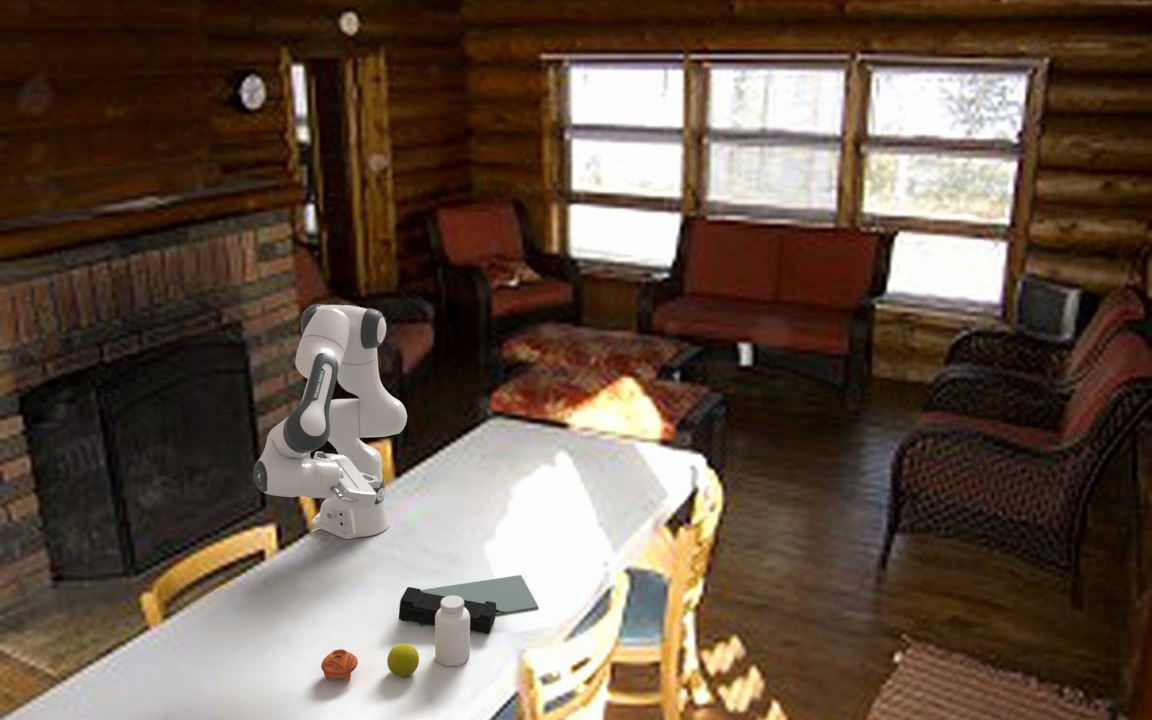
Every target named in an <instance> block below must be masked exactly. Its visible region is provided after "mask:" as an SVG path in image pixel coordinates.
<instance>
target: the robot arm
mask: <svg viewBox="0 0 1152 720" xmlns="http://www.w3.org/2000/svg"><path fill="white" fill-rule="evenodd" d="M300 332H301V335H302V336H301V338H300V340H299V341H300V342H299V344H298V347H297V349H296V350H297V351H296V356H295V363H294V365H295V368H296V369H297V371H298V372H299V374H300V375H301V376H302V377H304V378H305V379H307V382H306V385H305V388H304V392H303V396H302V400H301V402H300V403H299V406H298V407H297V408H295V409H294V410H293V411H292V412H291V413H290V414H289V415H288V416H286V418H284V419H283V420H282V421H280V422H279V423H278V424H276V425H275V426H274V427H273V428H272V429H271V430H270V431H269V432H268V433H267V437H266V441H265V447H264V450H263V451H262V454H261V455H260V457H259V459H258V460H257V461H256V462H255V464H254V467H253V480H254V483H255V486H256V487H257V489H258V490H259V491H260V492H262V493H264V494H266V495H270V496H276V497H287V498H288V497H289V498H296V497H300V496H301V497H306V498H309V499H310V498H311V499H325V500H323V502H322V503H321V505H320V510H319V512H318V513H317V514H315V516H314V517H313V518H312V521H311V526H313V527H315V528H317V529H320V530H322V531H325V532H327V533H329V534H332V535H335V536H337V537H340V538H342V539H344V540H351V539H355V538H361V537H363V538H364V537H371V536H375V535H378V534H381V533H383V532H385V531H386V530H387V529H389V527H390V525H391V522H390V519H389V516H388V513H387V509H386V505H385V503H386V502H385V479H384V477H383V457H382V455H381V453H380V452H379V451H378V450H377V449H376V448H375V447H374V446H371V445H369V444H366V443H365V442H363V441H362V440H361V438H382V437H384V438H385V437H389V436H393V435H398V434H400V433H401V432H402V431H403V430H404V428H405V426H406V425H407V420H408V419H407V418H408V414H407V410H406V408H405V406H404V405H405V404H403V403H402V401H400V400H399V399H397V398H396V397H394V396H393V395H391V394H390V393H389V392H388V390H386V388H385V387H384V385H383V383H382V381H381V378H380V371H379V362H378V347H379V346H380V345H382V343H383V342H384V340H385V336H386V334H387V322H386V317H385V316H384V315H383V313H382V312H381V311H379V310H378V309H374V308H371V307H369V308H365V307H360V306H355V305H347V304H344V305H342V304H323V303H315V304H310V305H309V306H308V307H307V308H305V309H304V311H303V312H302V314H301V318H300ZM336 383H338V384H339V385H340V387H341V388H342V389H344V390H345V391H346V392H348V393H351V394H353V395H355V396H356V397H357V398H337V399H336V398H335V399H332V398H333V394H334V391H335V386H336ZM327 441H328V442H329V443H330V444H331V445H332V447H333V448H335V449H336V452H337V454H336V453H324V451H316V450H318V449H320V448H322V447H323V446H325V445H326V443H327ZM314 451H315V453H314V455H313V458H311V457H312V456H311V453H312V452H314Z"/></svg>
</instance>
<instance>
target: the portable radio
mask: <svg viewBox="0 0 1152 720" xmlns="http://www.w3.org/2000/svg"><path fill="white" fill-rule="evenodd" d="M421 590H422V589H420V588H418V587H417V588H416V587H411V586H407V588H406V589H405V590H404V592H403V595H402V596H401V598H400V599H399V600H400V602H399V607H398V620H399V621H400V622H406V623H407V622H408V623H415V624H418V623H422V624H428V625H434V626H435V615H436V613H437V611H438V610H439V609H440V608H441V600H442V599H443V598H444V597H445V596H440V595H435V594H429V593H424V592H422V591H421ZM464 607H465V608H466V609H467V610H468V612H469V614H470V632H474V633H479V634H485V635H489V634H490V632H491V631H492V628H493V626H494V623H495V621H496V617H497V615H496V613H499V612H501V613H506V611H505V612H503V611H499V610H497V609H496V603H495V602H489V601H486V602H485V603H478V602H473V601H467V600H464Z"/></svg>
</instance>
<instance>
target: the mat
mask: <svg viewBox="0 0 1152 720" xmlns="http://www.w3.org/2000/svg"><path fill="white" fill-rule="evenodd" d="M420 590H421V591H422V592H424V593H429V594H435V595H440V596H445V597H446V596H451V595H455V596H459V597H461V598H462V599H463V600H467V601H473V602H478V603H485V602H486V601H489V602H495V603H496V609H497V610H499V611H503V612H505V611H506V613H501V612H499V613H496V616H501V615H508V614H513V613H518V612H519V613H520V612H525V611H533V610H537V609H539V605H538V603H537V601H536V599H535V598H534V595H533V594H532V592H531V590H530V588H529V587H528V585H527V583H526V582H525V580H524V577H523V576H522V574H519V575H512V576H505V577H498V578H492V579H485V580H478V581H472V582H465V583H458V584H452V585H445V586H444V585H443V586H440V587H431V588H425V589H420ZM417 624H418V626H419V628H420V629H421V628H427V627H428V628H429V627H433V626H434V627H435V625H428V624H422V623H417Z"/></svg>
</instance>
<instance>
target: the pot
mask: <svg viewBox="0 0 1152 720" xmlns="http://www.w3.org/2000/svg"><path fill="white" fill-rule="evenodd" d="M358 662H359V660H358V658H357V657H356V655H354V654H353V653H352V652H349V651H347V650H346V649H342V648H340V649H335V650H332V651H331V652H330V653H329V654H327V655H326V656H325V657H324V659H323V660H322V662H321V666H320V667H321V670H322V672H323V676H324V679H326V680H329V677H331V678H333V679H334V678H335V679H341V678H344V679H345V680H346V682H347V683H350V681H351V677H352V673H353V672H354V671H355V669H357V666H358V664H359V663H358Z"/></svg>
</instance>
